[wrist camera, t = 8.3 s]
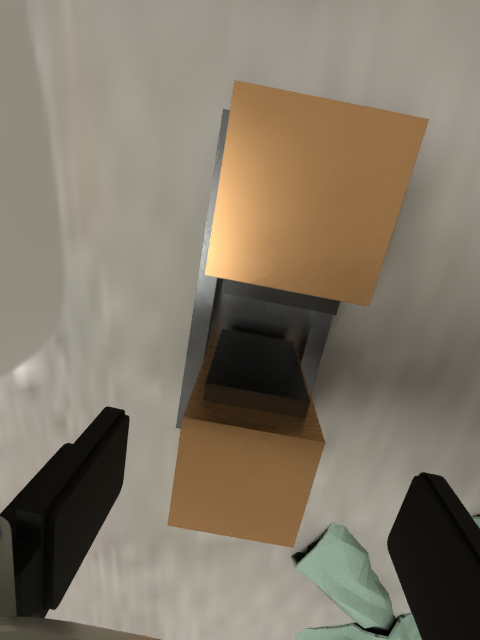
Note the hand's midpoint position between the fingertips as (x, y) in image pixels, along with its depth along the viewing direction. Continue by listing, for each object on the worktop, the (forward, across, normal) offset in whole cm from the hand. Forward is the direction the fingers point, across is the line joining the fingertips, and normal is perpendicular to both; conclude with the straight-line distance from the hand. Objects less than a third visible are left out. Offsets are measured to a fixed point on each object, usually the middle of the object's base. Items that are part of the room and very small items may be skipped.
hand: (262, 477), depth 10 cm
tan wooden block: (+6, +1, 0) cm, 6 cm away
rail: (+7, +1, -4) cm, 8 cm away
